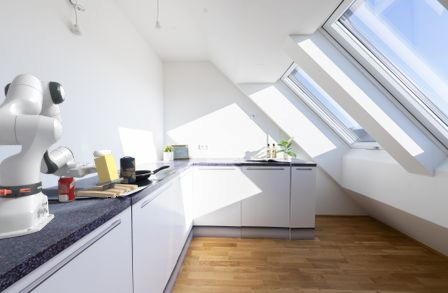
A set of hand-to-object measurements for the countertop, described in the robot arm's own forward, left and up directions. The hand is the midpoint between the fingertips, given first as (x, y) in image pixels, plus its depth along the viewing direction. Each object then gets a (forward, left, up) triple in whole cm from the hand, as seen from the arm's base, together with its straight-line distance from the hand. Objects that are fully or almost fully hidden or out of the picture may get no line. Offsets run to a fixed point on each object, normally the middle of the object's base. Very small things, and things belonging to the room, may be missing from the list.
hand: (100, 170), depth 133 cm
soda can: (-15, +15, -12) cm, 24 cm away
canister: (+18, -17, -12) cm, 28 cm away
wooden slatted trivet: (-4, -4, -12) cm, 13 cm away
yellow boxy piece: (-4, -4, -7) cm, 9 cm away
